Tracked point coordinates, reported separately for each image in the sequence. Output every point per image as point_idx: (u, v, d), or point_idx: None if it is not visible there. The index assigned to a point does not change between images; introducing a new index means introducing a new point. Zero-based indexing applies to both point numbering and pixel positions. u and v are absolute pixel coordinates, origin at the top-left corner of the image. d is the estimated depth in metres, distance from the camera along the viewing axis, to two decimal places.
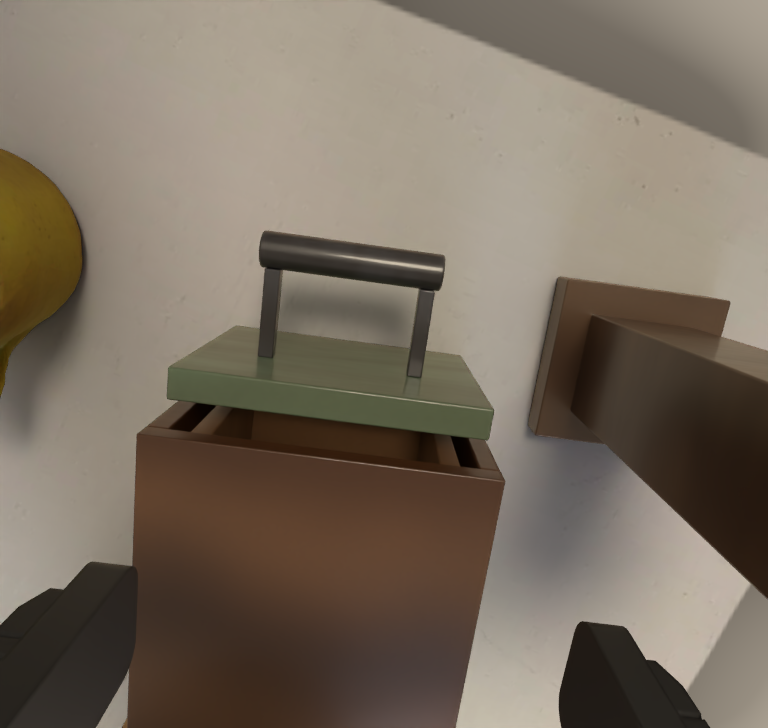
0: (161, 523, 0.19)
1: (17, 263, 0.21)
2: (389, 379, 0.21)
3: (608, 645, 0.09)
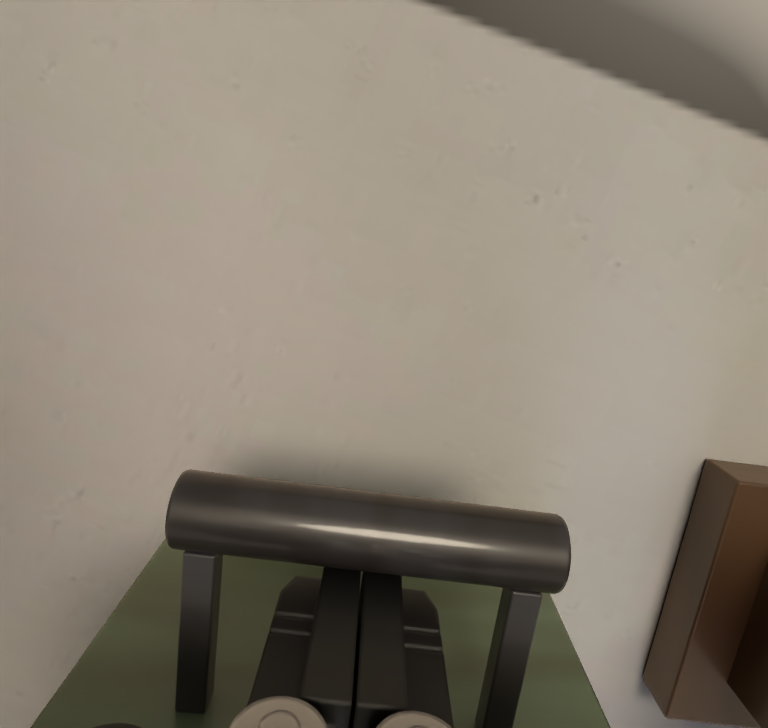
0: None
1: None
2: None
3: (373, 574, 0.10)
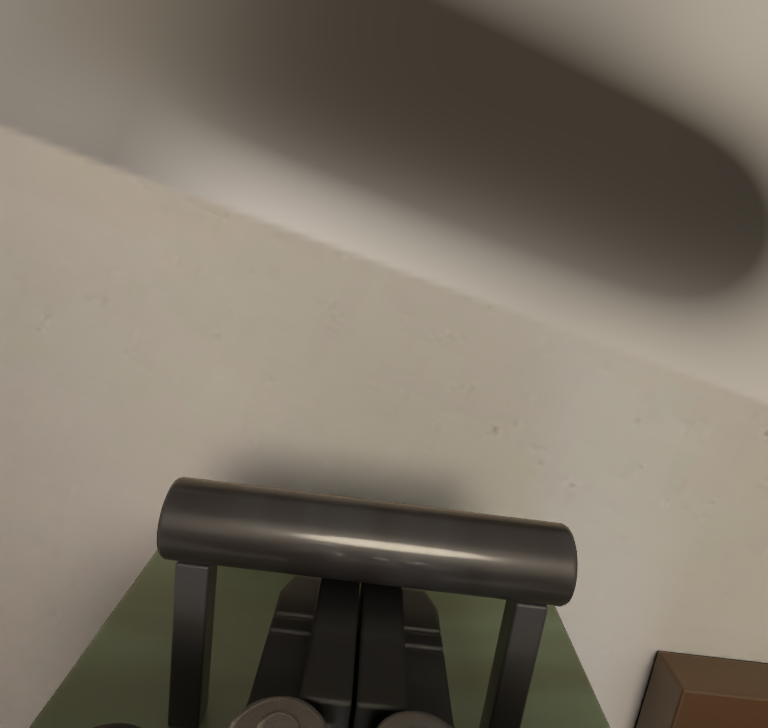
0: None
1: None
2: None
3: None
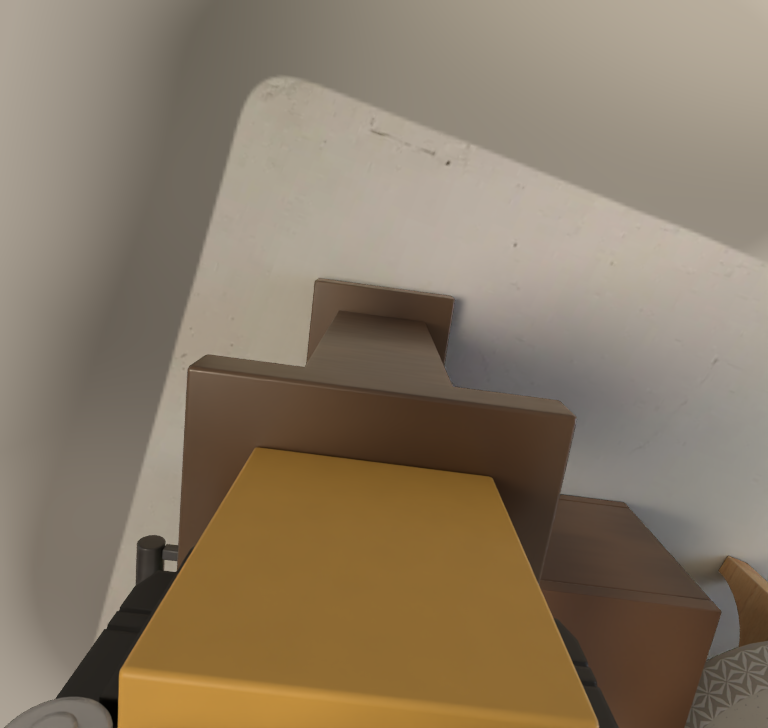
0: None
1: None
2: None
3: None
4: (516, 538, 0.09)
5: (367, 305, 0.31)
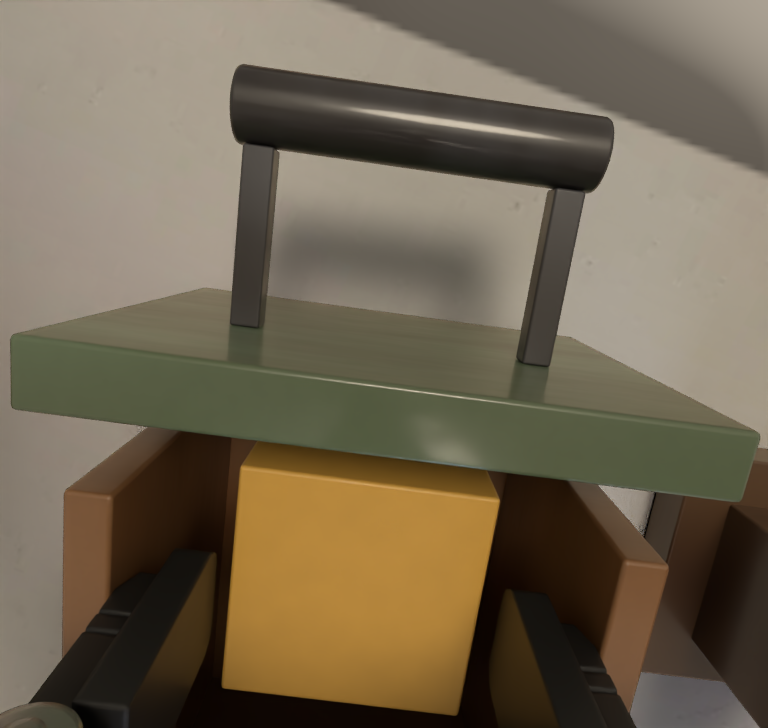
0: None
1: None
2: (496, 369, 0.10)
3: (526, 608, 0.10)
4: None
5: None
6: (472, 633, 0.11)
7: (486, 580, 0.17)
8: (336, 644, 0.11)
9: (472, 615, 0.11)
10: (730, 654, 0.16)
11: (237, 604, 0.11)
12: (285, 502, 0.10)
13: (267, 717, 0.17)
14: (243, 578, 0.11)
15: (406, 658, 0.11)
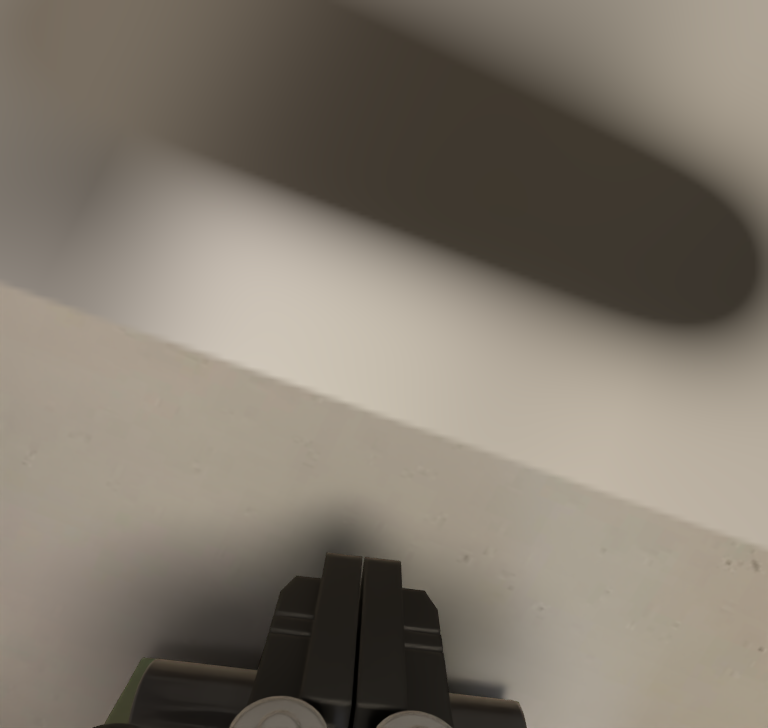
0: None
1: None
2: None
3: (373, 574, 0.10)
4: None
5: None
6: None
7: None
8: None
9: None
10: None
11: None
12: None
13: None
14: None
15: None
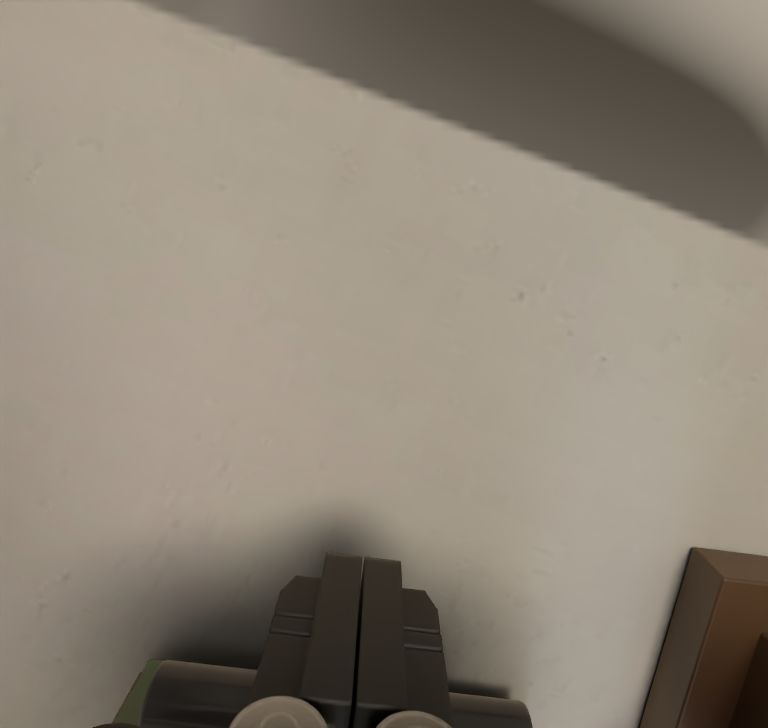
0: None
1: None
2: None
3: (373, 574, 0.10)
4: None
5: None
6: None
7: None
8: None
9: None
10: None
11: None
12: None
13: None
14: None
15: None
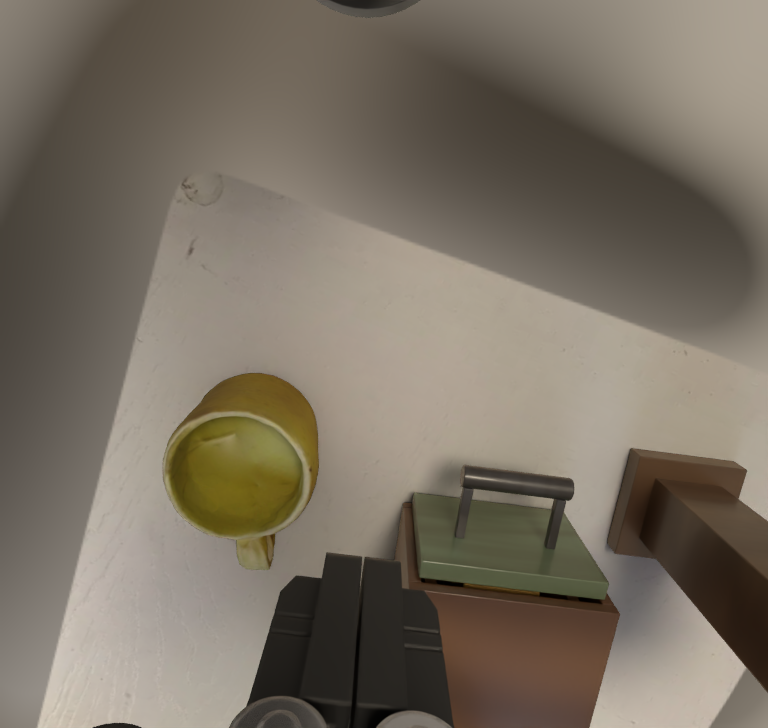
0: None
1: (316, 473, 0.35)
2: (539, 555, 0.35)
3: (373, 574, 0.10)
4: None
5: None
6: None
7: None
8: None
9: None
10: (653, 540, 0.39)
11: None
12: None
13: None
14: None
15: None
